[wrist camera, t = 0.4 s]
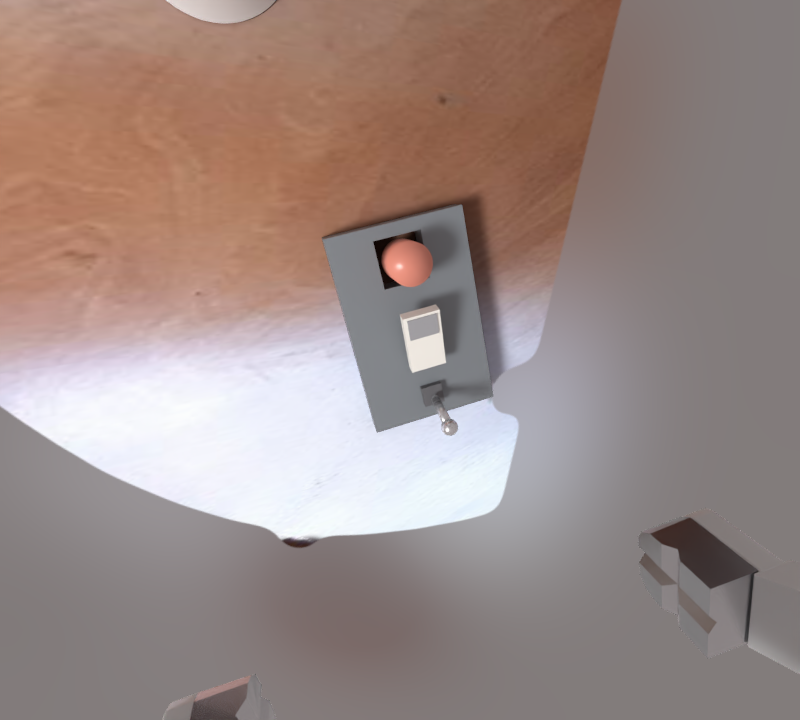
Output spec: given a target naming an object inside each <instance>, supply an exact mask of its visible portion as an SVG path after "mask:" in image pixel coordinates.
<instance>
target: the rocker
mask: <svg viewBox="0 0 800 720" xmlns="http://www.w3.org/2000/svg"><path fill="white" fill-rule="evenodd" d="M400 319H401V324H402V329H403V335H404V340H405V346H406V351H407V357H408V362H409V367H410V369H411V371H412V373H414V372H417V371H420V370H424V369H427V368H430V367H434V366H437V365H441V364H444V363H446V358H445V350H444V342H443V333H442V325H441V317H440V309H439V308H438V307H437V305H436V304H435V305H432V306H428V307H425V308H421V309H417V310H414V311H410V312H407V313H403V314H400Z"/></svg>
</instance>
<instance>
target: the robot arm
mask: <svg viewBox="0 0 800 720" xmlns="http://www.w3.org/2000/svg"><path fill="white" fill-rule="evenodd" d="M166 1H167V2H169V3H170V4H171V5H173V6H174V7H176V8H177V9H179V10H181V11H182V12H184V13H186V14H188V15H190V16H193V17H195V18H198V19H201V20H204V21H208V22H214V23H237V22H242V21H245V20H248V19H251V18H253V17H255V16H257V15H259V14H261V13H262V12H264V11H265V10H266V9H268V8H269V7H270V6H271V5H272V4H273V3H274V2H275V1H276V0H166ZM638 541H639V542H638V544H639V547H640V548H641V549H642V550H643V551H644V552H645V553H644V555H643V556H642V558H641V560H640V561H639V567H640V575H641V578H642V580H643V583H644V585H645V587H646V589H647V590H648V592H649V593H650V595H651V596H652V598H653V599H654V600H655V601H656V602H657V604H658V605H659V606H660V607H661V608H662V609H664V610H666V611H668V612H671V613H673V614H675V615H677V616H678V622H679V628H680V629H681V630H682V631H683V632H684V633H685V635H686V636H687V637H688V638H689V639H690V640H691V641H692V642H693V643H694V644H695V645H696V647H697V648H698V649H699V650H700V651H701V652H702V653H703V654H704V655H705V656H706V657H707V658H710V657H713V656H715V655H718V654H721V653H723V652H726V651H729V650H731V649H734V648H737V647H740V646H742V645H745V644H748V647H750V648H752V649H753V650H755V651H757V652H759V653H761V654H763V655H765V656H767V657H768V658H770V659H772V660H774V661H776V662H778V663H780V664H781V665H783V666H785V667H787V668H789V669H791V670H793V671H795V672H796V673H798V674H800V562H796V561H793V560H789V561H786V562H783V561H782V560H781V559H779V558H778V557H776V556H775V555H774V554H772V553H771V552H769V551H768V550H767V549H765V548H764V547H763V546H761V545H760V544H758V543H757V542H756V541H754V540H753V539H752V538H750V537H749V536H747V535H746V534H745V533H743V532H742V531H740V530H739V529H738V528H736V527H735V526H734V525H732V524H731V523H729V522H728V521H727V520H725V519H724V518H722V517H721V516H720V515H718V514H717V513H715V512H714V511H712V510H709V509H706V508H705V509H702V510H699V511H696V512H693V513H691V514H688V515H685V516H683V517H678V518H676V519H673V520H670V521H668V522H665V523H662V524H660V525H658V526H655V527H652V528H649V529H647V530H644V531H642V532H641V533H640V535H639V537H638ZM261 689H262V685H261V683H260V681H259V680H258V678H257V676H256V674H254V675H250V676H247V677H244V678H241V679H238V680H235V681H232V682H229V683H226V684H223V685H220V686H217V687H214V688H211V689H208V690H205V691H202V692H199V693H197V694H194V695H191V696H188V697H185V698H182V699H179V700H177V701H174V702H171V703H170V705H169V707H168V708H167V710H166V712H165V714H164V717H163V720H277V719H276V716H275V712H274V709H273V707H272V705H271V703H270V701H269V700H267V699H265V698H262V697H261Z"/></svg>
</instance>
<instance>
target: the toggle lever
mask: <svg viewBox="0 0 800 720" xmlns="http://www.w3.org/2000/svg"><path fill="white" fill-rule="evenodd" d="M431 400H432V403H433V405H434V407H435V409H436V411H437V413H438V415H439V417H440V419H441V421H442V425H441V429H442V432H443V433H444V434H445V435H448V436H452V435H454V434H455V433H456V432H457V430H458V425H457V423H456V422H455V421H454V420H452V419H450V417H449V415H448V413H447V411H446V409H445V407H444V405H443V403H442V401H441V399H440V397H439V396H438V395H434V396H432V399H431Z"/></svg>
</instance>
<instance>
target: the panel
mask: <svg viewBox="0 0 800 720" xmlns="http://www.w3.org/2000/svg"><path fill="white" fill-rule="evenodd" d="M412 231H415V236H416V241H417V242H418V243H421V244H423V245H424V246H425V247H426V248H427V249H428V250H429V251H430V253H431V256H432V259H433V268H432V272H431V274H430V276H429V277H428V279H427V280H426V281H425V282H424V283H422V284H420V285H418V286H415V287H406V286H403V285H401V284H399V283H397V282H396V281H394V282H390V283H387V284H383V281H382V277H381V272H380V268H379V264H378V260H377V256H376V252H375V247H374V243H373V241H377V240H381V239H385V238H389V237H393V236H397V235H401V234H404V233H408V232H412ZM322 241H323V244H324V248H325V251H326V255H327V258H328V262H329V266H330V269H331V273H332V276H333V280H334V283H335V287H336V291H337V294H338V298H339V301H340V305H341V308H342V312H343V316H344V319H345V323H346V326H347V330H348V333H349V337H350V341H351V344H352V348H353V351H354V355H355V358H356V362H357V366H358V369H359V373H360V376H361V380H362V383H363V387H364V391H365V394H366V398H367V401H368V405H369V408H370V412H371V416H372V419H373V422H374V425H375V428H376V431H377V432H381V431H384V430H387V429H390V428H394V427H397V426H400V425H403V424H406V423H410V422H413V421H416V420H419V419H422V418H426V417H429V416H432V415H435V414H438V413H437V411H436V409H435V407H434V405H433V403H432V400H431V399H432V396H434V395H438V396H439V397H440V399H441V401H442V403H443V405H444V407H445V409H446V411H448V410H451V409H455V408H458V407H461V406H464V405H467V404H471V403H474V402H477V401H480V400H484V399H487V398H490V397H493V391H492V385H491V379H490V373H489V366H488V360H487V354H486V348H485V342H484V336H483V330H482V323H481V317H480V311H479V305H478V299H477V293H476V287H475V280H474V274H473V268H472V262H471V256H470V250H469V244H468V237H467V231H466V225H465V219H464V213H463V207H462V205H449V206H445V207H441V208H437V209H433V210H430V211H426V212H422V213H418V214H414V215H410V216H406V217H402V218H398V219H394V220H390V221H386V222H382V223H378V224H374V225H370V226H366V227H362V228H358V229H354V230H350V231H346V232H342V233H338V234H334V235H330V236H326V237H322ZM435 304H436V305H437V307H438V308H439V309H440V317H441V325H442V333H443V342H444V350H445V358H446V363H444V364H441V365H437V366H434V367H430V368H427V369H424V370H420V371H417V372H414V373H412V371H411V369H410V367H409V362H408V357H407V351H406V346H405V340H404V335H403V329H402V324H401V319H400V314H403V313H407V312H410V311H414V310H417V309H421V308H425V307H428V306H432V305H435Z"/></svg>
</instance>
